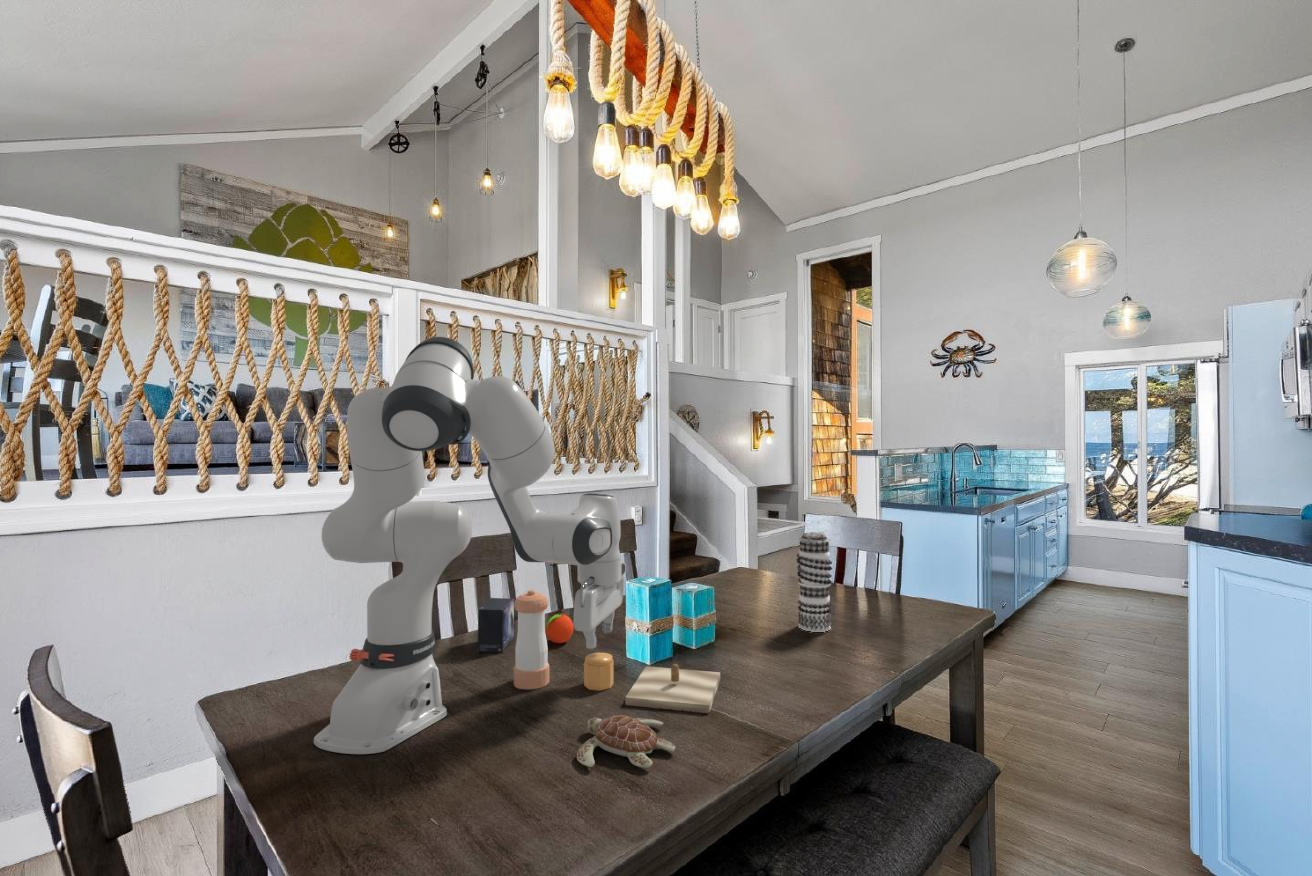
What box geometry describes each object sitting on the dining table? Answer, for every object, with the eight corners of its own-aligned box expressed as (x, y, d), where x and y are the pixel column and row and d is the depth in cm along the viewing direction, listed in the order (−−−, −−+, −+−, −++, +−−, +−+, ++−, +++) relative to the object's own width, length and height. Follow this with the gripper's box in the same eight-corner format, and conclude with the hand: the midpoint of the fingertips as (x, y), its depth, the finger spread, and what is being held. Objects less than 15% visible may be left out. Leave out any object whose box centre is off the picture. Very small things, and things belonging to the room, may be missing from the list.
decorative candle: (789, 625, 164) (789, 532, 164) (816, 620, 168) (816, 530, 168) (811, 635, 156) (811, 537, 156) (839, 630, 160) (839, 534, 160)
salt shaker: (541, 691, 122) (540, 595, 122) (507, 688, 124) (507, 594, 124) (554, 677, 129) (554, 586, 129) (522, 674, 131) (522, 585, 131)
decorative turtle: (623, 715, 113) (623, 688, 112) (696, 743, 102) (696, 713, 102) (547, 755, 98) (547, 724, 98) (624, 792, 88) (623, 758, 88)
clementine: (556, 650, 146) (555, 620, 146) (536, 644, 150) (536, 615, 150) (579, 641, 152) (579, 613, 152) (560, 636, 156) (559, 608, 156)
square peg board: (709, 713, 112) (709, 683, 112) (625, 705, 116) (625, 676, 116) (720, 679, 128) (720, 653, 128) (646, 673, 131) (646, 647, 131)
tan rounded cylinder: (607, 691, 122) (607, 663, 122) (581, 689, 123) (580, 661, 123) (616, 680, 127) (615, 653, 127) (590, 678, 129) (590, 651, 129)
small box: (504, 653, 144) (503, 609, 144) (476, 653, 144) (476, 609, 144) (515, 638, 154) (515, 597, 154) (489, 638, 155) (489, 597, 155)
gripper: (596, 585, 114) (596, 659, 114) (628, 562, 134) (628, 625, 134) (564, 583, 115) (565, 656, 116) (601, 561, 135) (601, 623, 135)
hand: (599, 639), depth 125 cm, fingers open, 8 cm apart
